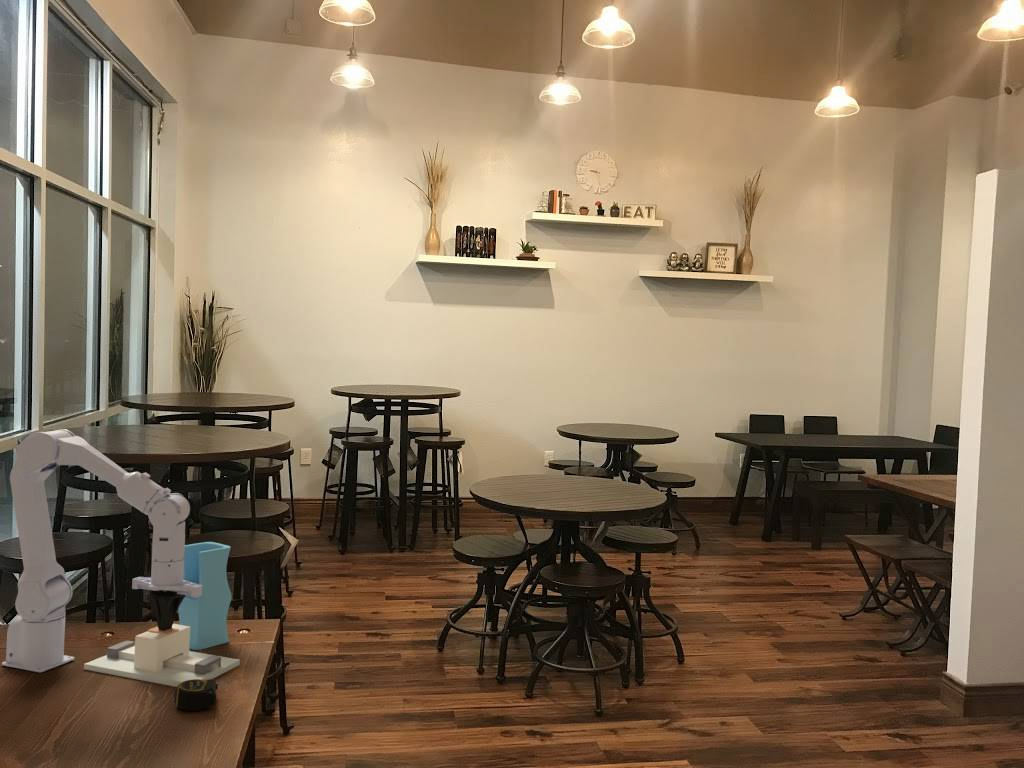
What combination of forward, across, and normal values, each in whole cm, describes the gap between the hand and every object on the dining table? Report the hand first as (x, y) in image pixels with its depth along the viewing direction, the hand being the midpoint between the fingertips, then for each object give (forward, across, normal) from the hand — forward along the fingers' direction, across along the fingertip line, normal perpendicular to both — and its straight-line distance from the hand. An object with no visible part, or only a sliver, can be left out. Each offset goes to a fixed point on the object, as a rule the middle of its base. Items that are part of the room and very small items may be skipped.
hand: (165, 630), depth 157 cm
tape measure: (+8, +17, -12) cm, 22 cm away
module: (+6, 0, 0) cm, 6 cm away
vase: (+7, -3, +15) cm, 17 cm away
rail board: (+7, 0, 0) cm, 7 cm away
